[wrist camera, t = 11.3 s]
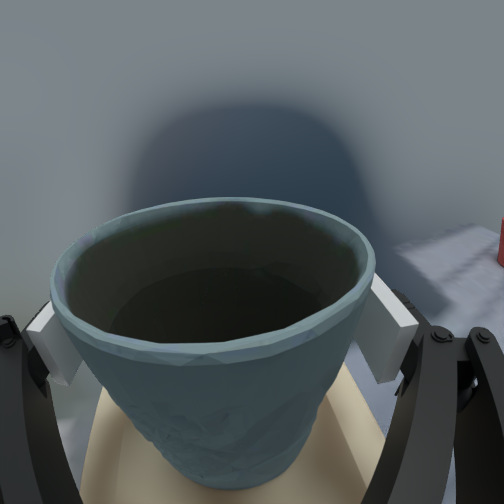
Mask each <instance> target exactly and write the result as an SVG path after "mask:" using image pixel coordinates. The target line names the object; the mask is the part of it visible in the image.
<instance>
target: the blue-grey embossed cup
mask: <svg viewBox="0 0 504 504" xmlns="http://www.w3.org/2000/svg"><path fill="white" fill-rule="evenodd" d="M375 265H376V261H375V254H374V250H373V248H372V247H371V245H370V243H369V242H368V240H367V239H366V237H365V236H364V235H363V234H362V233H361V232H359V230H357V228H355V227H353V226H352V225H350V224H349V223H347V222H345V221H344V220H342V219H340V218H338V217H337V216H334V215H332V214H329V213H326V212H324V211H322V210H318V209H315V208H311V207H308V206H304V205H300V204H295V203H289V202H284V201H278V200H269V199H259V198H244V197H239V198H238V197H220V198H203V199H194V200H186V201H179V202H173V203H167V204H163V205H159V206H155V207H151V208H146V209H142V210H139V211H135V212H132V213H129V214H126V215H123V216H120V217H118V218H115V219H113V220H111V221H109V222H107V223H105V224H103V225H101V226H99V227H97V228H95V229H93V230H91V231H89V232H88V233H86V234H85V235H84V236H82V237H81V238H80V239H78V240H77V241H75V242H74V243H73V244H71V245H70V246H69V247H68V248H67V249H66V250H65V251H64V252H63V254H62V255H61V256H60V258H59V259H58V261H57V262H56V264H55V266H54V268H53V271H52V274H51V279H50V298H51V303H52V308H53V310H54V312H55V314H56V316H57V317H58V319H59V321H60V323H61V324H62V326H63V328H64V329H65V331H66V333H67V335H68V336H69V338H70V339H71V341H72V343H73V344H74V346H75V347H76V349H77V351H78V352H79V354H80V355H81V357H82V358H83V360H84V361H85V363H86V364H87V366H88V367H89V368H90V370H91V371H92V373H93V374H94V375H95V377H96V378H97V379H98V381H99V382H100V383H101V384H102V385H103V386H104V387H105V389H106V390H107V392H108V394H109V396H110V397H111V398H112V400H113V401H114V402H115V404H116V405H117V406H119V407H120V408H121V410H122V411H123V412H124V413H125V414H126V415H127V417H128V418H129V419H130V420H131V421H132V423H133V424H134V426H135V428H136V429H137V430H138V431H139V432H140V433H141V434H142V435H143V437H144V438H145V439H146V440H147V441H149V442H152V443H153V444H154V446H155V447H156V448H157V449H158V450H159V451H160V452H161V454H162V456H163V457H164V458H165V459H166V460H167V461H168V462H169V463H170V464H171V465H172V466H173V467H174V468H175V469H176V470H178V471H179V472H180V473H181V474H182V475H183V476H185V477H187V478H188V479H190V480H192V481H194V482H196V483H198V484H201V485H204V486H207V487H211V488H215V489H222V490H240V489H248V488H252V487H256V486H259V485H262V484H264V483H266V482H268V481H270V480H272V479H274V478H276V477H278V476H279V475H281V474H282V473H283V472H285V471H286V470H287V469H288V468H289V466H290V465H291V464H292V463H293V462H294V461H295V459H296V458H297V456H298V454H299V453H300V451H301V450H302V448H303V446H304V444H305V443H306V441H307V439H308V437H309V435H310V433H311V430H312V426H313V424H314V422H315V420H316V418H317V411H318V407H319V405H320V404H321V402H322V401H323V398H324V396H325V394H326V393H327V391H328V390H329V389H330V387H331V386H332V384H333V383H334V381H335V379H336V378H337V375H338V373H339V371H340V369H341V367H342V364H343V362H344V359H345V357H346V354H347V351H348V349H349V346H350V344H351V341H352V338H353V336H354V333H355V330H356V328H357V325H358V323H359V320H360V317H361V315H362V312H363V309H364V306H365V303H366V301H367V298H368V295H369V292H370V289H371V286H372V282H373V278H374V272H375Z"/></svg>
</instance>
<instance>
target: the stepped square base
mask: <svg viewBox="0 0 504 504" xmlns="http://www.w3.org/2000/svg"><path fill="white" fill-rule="evenodd" d="M385 441H386V439H385V437H384V435H383V433H382V431H381V429H380V428H379V426H378V424H377V422H376V420H375V418H374V416H373V414H372V413H371V411H370V409H369V407H368V405H367V403H366V401H365V400H364V398H363V396H362V394H361V392H360V391H359V389H358V387H357V385H356V383H355V381H354V380H353V378H352V376H351V374H350V372H349V371H348V369H347V367H346V365H345V363H344V362H343V364H342V367H341V369H340V371H339V373H338V375H337V378H336V379H335V381H334V383H333V384H332V386H331V387H330V389H329V390H328V391H327V393H326V394H325V396H324V398H323V401H322V402H321V404H320V405H319V407H318V411H317V418H316V420H315V422H314V424H313V426H312V430H311V433H310V435H309V437H308V439H307V441H306V443H305V444H304V446H303V448H302V450H301V451H300V453H299V454H298V456H297V458H296V459H295V461H294V462H293V463H292V464H291V465H290V466H289V468H288V469H287V470H286V471H285V472H283V473H282V474H281V475H279V476H278V477H276V478H274V479H272V480H270V481H268V482H266V483H264V484H262V485H259V486H256V487H252V488H248V489H240V490H222V489H215V488H211V487H207V486H204V485H201V484H198V483H196V482H194V481H192V480H190V479H188V478H187V477H185V476H183V475H182V474H181V473H180V472H179V471H178V470H176V469H175V468H174V467H173V466H172V465H171V464H170V463H169V462H168V461H167V460H166V459H165V458H164V457H163V456H162V454H161V452H160V451H159V450H158V449H157V448H156V447H155V446H154V444H153V443H152V442H149V441H147V440H146V439H145V438H144V437H143V435H142V434H141V433H140V432H139V431H138V430H137V429H136V428H135V426H134V424H133V423H132V421H131V420H130V419H129V418H128V417H127V415H126V414H125V413H124V412H123V411H122V410H121V408H120V407H119V406H117V405H116V404H115V402H114V401H113V400H112V398H111V397H110V396H109V394H108V392H107V390H106V389H105V387H104V386H103V388H102V392H101V395H100V399H99V402H98V406H97V410H96V414H95V417H94V421H93V425H92V430H91V434H90V438H89V443H88V447H87V452H86V457H85V462H84V467H83V473H82V479H81V485H80V492H79V494H80V496H81V499H82V501H83V503H84V504H361V502H362V500H363V497H364V495H365V493H366V491H367V488H368V486H369V484H370V481H371V479H372V477H373V474H374V471H375V469H376V466H377V464H378V461H379V458H380V455H381V453H382V450H383V447H384V444H385Z"/></svg>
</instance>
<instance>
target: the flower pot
mask: <svg viewBox="0 0 504 504" xmlns="http://www.w3.org/2000/svg"><path fill="white" fill-rule="evenodd" d="M498 262H499V263H500V264H501V265H502V266H503V267H504V217H503V218H502V227H501V236H500V244H499V253H498Z"/></svg>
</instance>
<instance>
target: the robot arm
mask: <svg viewBox="0 0 504 504" xmlns="http://www.w3.org/2000/svg"><path fill="white" fill-rule="evenodd" d="M353 337H354V338H355V340H356V342H357V344H358V346H359V348H360V350H361V352H362V354H363V356H364V358H365V360H366V362H367V364H368V365H369V367H370V369H371V371H372V373H373V375H374V377H375V379H376V381H377V383H378V384H380V383H385V382H389V381H393V380H395V378H396V376H397V374H398V372H399V370H401V372H402V373H403V375H404V378H403V380H402V382H401V383H400V385H399V387H398V389H397V391H396V393H395V396H397V395H398V398H397V402H396V406H395V410H394V414H393V417H392V421H391V424H390V428H389V431H388V434H387V438H386V441H385V444H384V447H383V450H382V453H381V455H380V458H379V461H378V464H377V466H376V469H375V471H374V474H373V477H372V479H371V481H370V484H369V486H368V488H367V491H366V493H365V495H364V497H363V500H362V502H361V504H441V503H442V500H443V496H444V492H445V488H446V483H447V479H448V474H449V469H450V463H451V457H452V450H453V446H454V457H455V472H456V504H504V354H503V352H502V350H501V348H500V346H499V344H498V342H497V340H496V338H495V336H494V335H493V334H492V333H491V332H490V331H489V330H488V329H485V328H482V327H474V328H472V329H471V331H470V333H469V335H468V337H467V338H455V337H454V335H453V334H452V333H451V332H450V331H449V330H448V329H446V328H444V327H441V326H431V325H430V323H429V322H428V321H427V320H426V319H425V318H424V316H423V315H422V314H421V313H420V312H419V311H418V310H417V309H415V306H414V305H413V304H412V303H410V301H409V300H408V298H407V297H406V296H405V295H404V294H402V293H400V292H399V291H397V290H395V289H393V290H390V289H389V288H388V287H387V286H386V285H385V283H384V282H383V281H382V280H381V279H380V278H379V277H378V276H377V275H376V273H375V272H374V278H373V282H372V286H371V289H370V292H369V295H368V298H367V301H366V303H365V306H364V309H363V312H362V315H361V317H360V320H359V323H358V325H357V328H356V330H355V333H354V336H353ZM82 361H83V358H82V357H81V355H80V354H79V352H78V351H77V349H76V347H75V346H74V344H73V343H72V341H71V339H70V338H69V336H68V335H67V333H66V331H65V329H64V328H63V326H62V324H61V323H60V321H59V319H58V317H57V316H56V314H55V312H54V310H53V308H52V303H51V300H50V301H49V302H47V303H46V304H45V305H44V306H43V307H42V308H41V309H40V310H39V312H38V313H37V314H36V315H35V317H33V318H32V320H31V321H30V322H29V323H28V325H27V326H26V327H25V328H24V329H23V331H22V332H21V333H20V331H19V329H18V327H17V325H16V323H15V321H14V318H13V317H12V316H10V315H5V316H1V317H0V504H84V503H83V501H82V499H81V496H80V494H79V492H78V489H77V487H76V484H75V481H74V479H73V476H72V473H71V470H70V467H69V464H68V461H67V458H66V455H65V452H64V448H63V445H62V441H61V437H60V434H59V430H58V425H57V421H56V416H55V412H54V407H53V401H52V396H51V390H50V385H49V382H48V381H47V379H46V378H47V376H48V374H49V373H50V374H51V376H52V378H53V379H54V381H55V383H59V384H62V385H67V386H70V384H71V382H72V380H73V378H74V376H75V374H76V372H77V370H78V368H79V366H80V364H81V362H82ZM476 378H477V381H478V385H477V386H475V384H474V381H475V379H476ZM398 393H399V394H398Z"/></svg>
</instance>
